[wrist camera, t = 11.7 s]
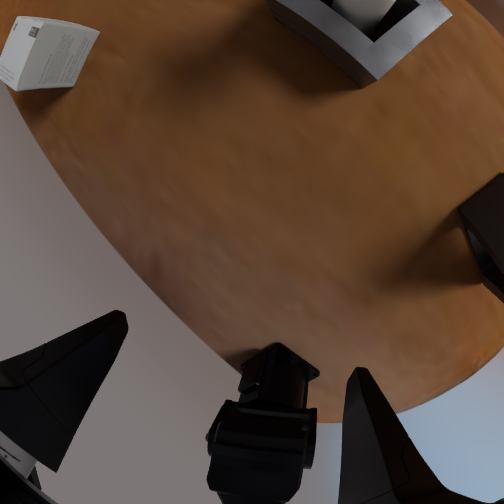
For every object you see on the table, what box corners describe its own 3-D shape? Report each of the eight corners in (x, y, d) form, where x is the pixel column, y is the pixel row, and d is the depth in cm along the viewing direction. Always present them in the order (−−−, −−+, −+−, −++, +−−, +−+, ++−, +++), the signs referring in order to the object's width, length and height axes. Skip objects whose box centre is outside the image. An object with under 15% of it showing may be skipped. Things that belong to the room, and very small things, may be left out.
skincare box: (46, 72, 17) (-8, 76, 11) (69, 21, 15) (16, 15, 8) (75, 88, 18) (14, 93, 12) (102, 31, 15) (42, 20, 9)
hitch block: (426, 30, 11) (452, 14, 7) (362, 88, 15) (377, 80, 11) (342, -37, 10) (348, -66, 6) (273, 17, 14) (263, -8, 10)
